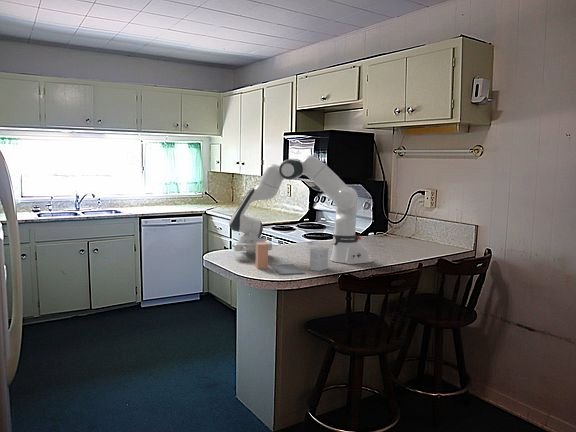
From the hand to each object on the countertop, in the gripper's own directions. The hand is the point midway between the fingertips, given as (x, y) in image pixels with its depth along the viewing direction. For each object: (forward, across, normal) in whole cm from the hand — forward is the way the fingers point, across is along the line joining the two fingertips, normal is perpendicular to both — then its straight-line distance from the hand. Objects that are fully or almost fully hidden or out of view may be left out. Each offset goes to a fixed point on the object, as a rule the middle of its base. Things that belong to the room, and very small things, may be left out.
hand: (256, 249), depth 250 cm
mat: (+19, +11, +7) cm, 23 cm away
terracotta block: (+12, 0, +7) cm, 14 cm away
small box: (+20, +27, +7) cm, 34 cm away
